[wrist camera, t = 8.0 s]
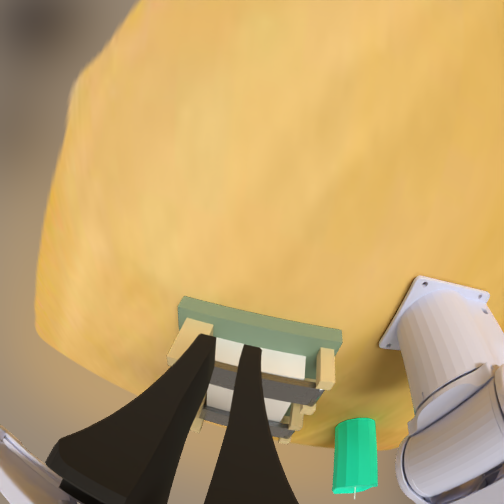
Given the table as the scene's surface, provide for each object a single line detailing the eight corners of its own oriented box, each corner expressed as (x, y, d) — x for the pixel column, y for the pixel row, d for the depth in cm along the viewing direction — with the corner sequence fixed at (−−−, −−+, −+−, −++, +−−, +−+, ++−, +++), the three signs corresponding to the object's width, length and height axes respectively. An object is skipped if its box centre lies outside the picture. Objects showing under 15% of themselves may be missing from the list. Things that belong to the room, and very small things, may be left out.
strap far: (297, 424, 24) (296, 430, 24) (290, 434, 26) (289, 439, 25) (193, 400, 25) (191, 406, 25) (194, 411, 27) (192, 416, 26)
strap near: (326, 383, 20) (326, 390, 19) (315, 400, 21) (314, 407, 21) (191, 352, 21) (187, 359, 20) (191, 371, 22) (189, 378, 22)
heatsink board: (341, 329, 22) (345, 386, 17) (293, 414, 31) (288, 453, 25) (184, 295, 23) (155, 344, 18) (189, 391, 32) (174, 428, 27)
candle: (345, 436, 33) (343, 503, 23) (327, 425, 31) (322, 500, 21) (381, 425, 30) (383, 496, 20) (366, 413, 29) (368, 493, 18)
